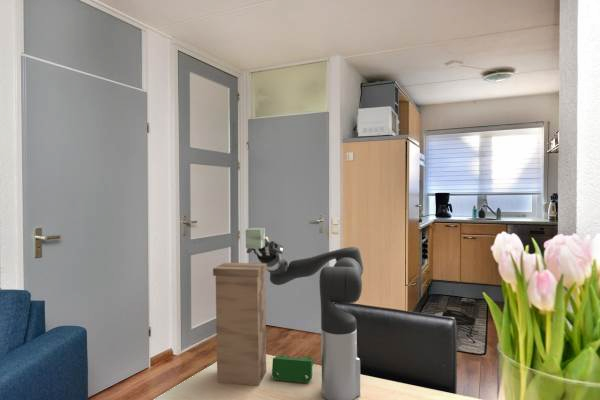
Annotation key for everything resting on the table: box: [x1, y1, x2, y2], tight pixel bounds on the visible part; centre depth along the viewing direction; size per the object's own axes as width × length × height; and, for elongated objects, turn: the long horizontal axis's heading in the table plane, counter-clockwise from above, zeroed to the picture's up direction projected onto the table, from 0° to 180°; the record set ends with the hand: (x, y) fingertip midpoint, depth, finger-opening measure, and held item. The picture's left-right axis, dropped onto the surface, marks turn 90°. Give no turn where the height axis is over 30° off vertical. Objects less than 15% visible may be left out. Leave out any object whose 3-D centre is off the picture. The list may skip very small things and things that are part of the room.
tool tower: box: [212, 262, 268, 386], centre depth 110 cm, size 9×13×32 cm
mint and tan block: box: [245, 227, 269, 249], centre depth 129 cm, size 14×5×6 cm, turn 170°
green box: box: [271, 354, 315, 384], centre depth 110 cm, size 12×6×9 cm, turn 72°
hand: (258, 239), depth 128 cm, fingers closed on mint and tan block, 2 cm apart
